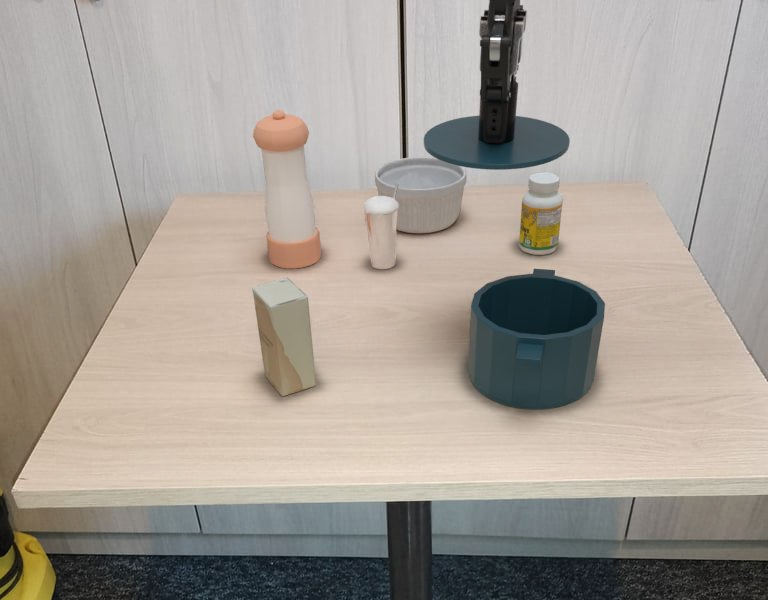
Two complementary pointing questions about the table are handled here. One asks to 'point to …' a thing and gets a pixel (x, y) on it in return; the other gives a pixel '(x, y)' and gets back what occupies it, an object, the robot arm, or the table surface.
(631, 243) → the table surface
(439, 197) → the ramekin
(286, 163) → the pepper shaker
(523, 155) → the lid
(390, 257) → the milkshake
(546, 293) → the pot
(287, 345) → the box
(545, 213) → the supplement bottle
